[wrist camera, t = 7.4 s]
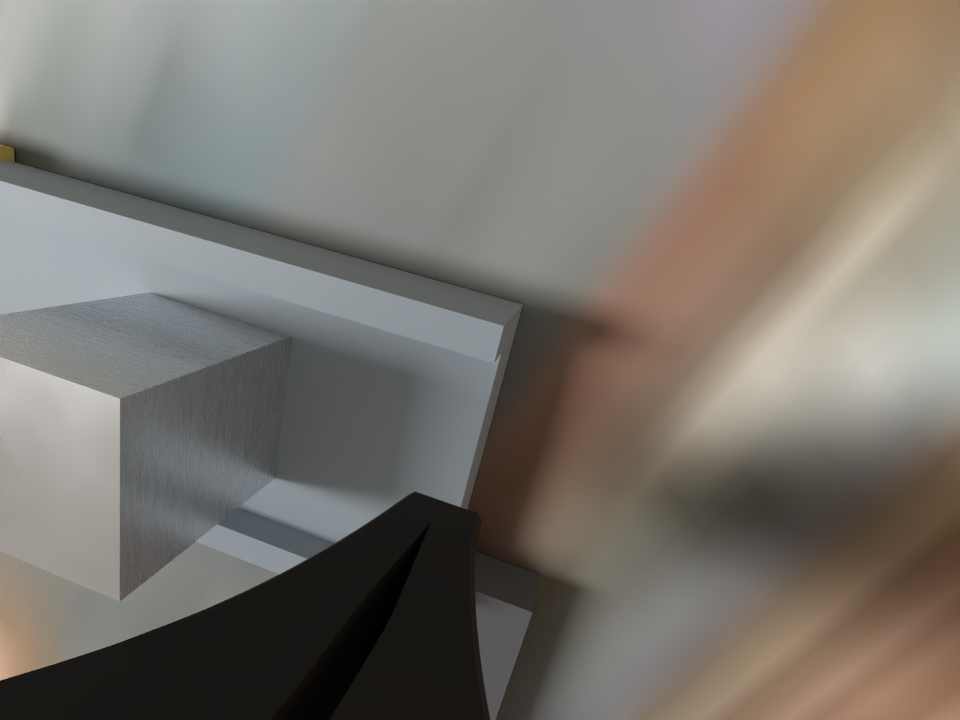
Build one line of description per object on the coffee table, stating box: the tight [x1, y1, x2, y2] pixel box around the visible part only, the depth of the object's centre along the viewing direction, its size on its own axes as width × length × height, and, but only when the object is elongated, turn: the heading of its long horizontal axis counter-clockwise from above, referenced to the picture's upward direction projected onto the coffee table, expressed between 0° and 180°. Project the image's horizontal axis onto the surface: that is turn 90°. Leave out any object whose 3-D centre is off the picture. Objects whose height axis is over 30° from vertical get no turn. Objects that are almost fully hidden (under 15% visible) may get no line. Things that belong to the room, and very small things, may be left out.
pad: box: [475, 551, 539, 720], centre depth 15 cm, size 7×7×2 cm
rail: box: [0, 144, 523, 574], centre depth 14 cm, size 9×24×3 cm, turn 76°
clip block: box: [0, 292, 292, 602], centre depth 10 cm, size 4×4×4 cm
